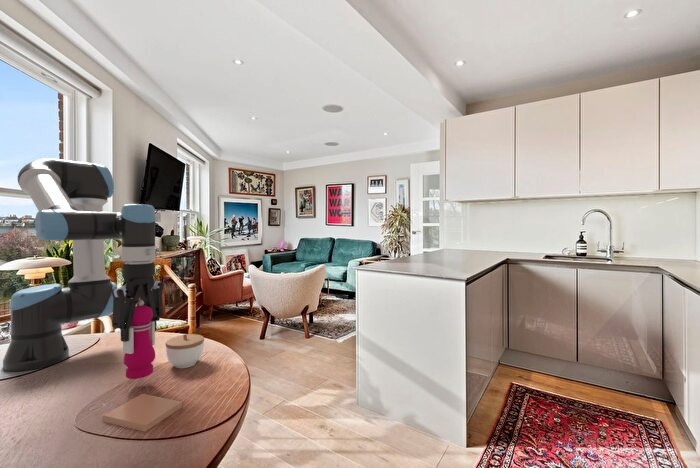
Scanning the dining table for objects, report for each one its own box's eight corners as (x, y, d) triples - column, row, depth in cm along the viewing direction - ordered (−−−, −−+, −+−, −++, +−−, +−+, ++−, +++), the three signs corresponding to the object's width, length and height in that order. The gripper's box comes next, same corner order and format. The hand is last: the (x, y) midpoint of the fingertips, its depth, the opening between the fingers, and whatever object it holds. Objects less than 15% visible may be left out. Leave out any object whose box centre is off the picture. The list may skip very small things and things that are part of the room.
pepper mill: (161, 370, 92) (162, 298, 92) (137, 381, 86) (137, 303, 85) (141, 366, 95) (142, 296, 94) (116, 377, 88) (117, 301, 88)
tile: (102, 415, 74) (145, 425, 70) (142, 393, 83) (181, 401, 80) (102, 423, 74) (145, 433, 70) (142, 400, 83) (181, 409, 80)
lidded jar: (210, 358, 109) (210, 329, 109) (191, 372, 99) (191, 341, 98) (179, 356, 110) (179, 328, 110) (157, 370, 100) (157, 339, 99)
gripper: (115, 266, 80) (116, 363, 80) (177, 259, 97) (178, 339, 98) (92, 265, 82) (93, 359, 82) (157, 258, 100) (157, 336, 100)
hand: (139, 348), depth 90 cm, fingers closed on pepper mill, 6 cm apart
